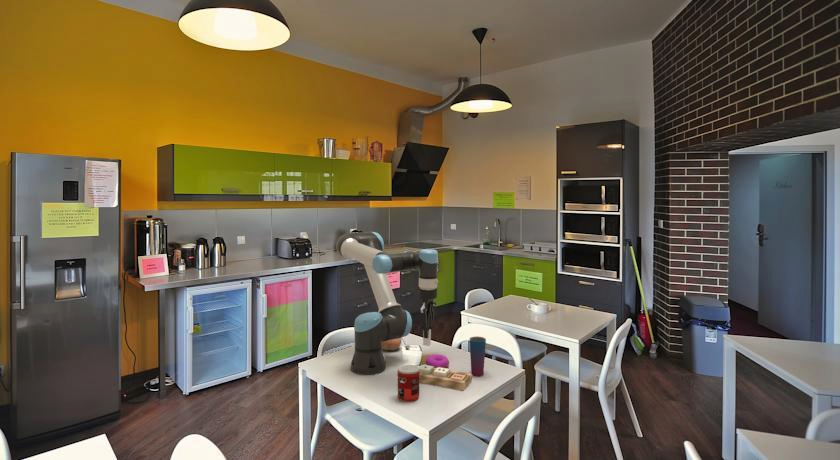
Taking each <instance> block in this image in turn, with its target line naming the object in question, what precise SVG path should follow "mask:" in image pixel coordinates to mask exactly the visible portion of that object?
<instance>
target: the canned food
mask: <svg viewBox="0 0 840 460" xmlns="http://www.w3.org/2000/svg"><path fill="white" fill-rule="evenodd" d="M419 367H420V366H417V365H414V364H413V365H412V364H402V365H401V366H399V367H397V397H398V400H400V401H402V402H405V403H408V402H409V403H411V402H415V401H417V400H418V399H419V397H420V383H419Z"/></svg>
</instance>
